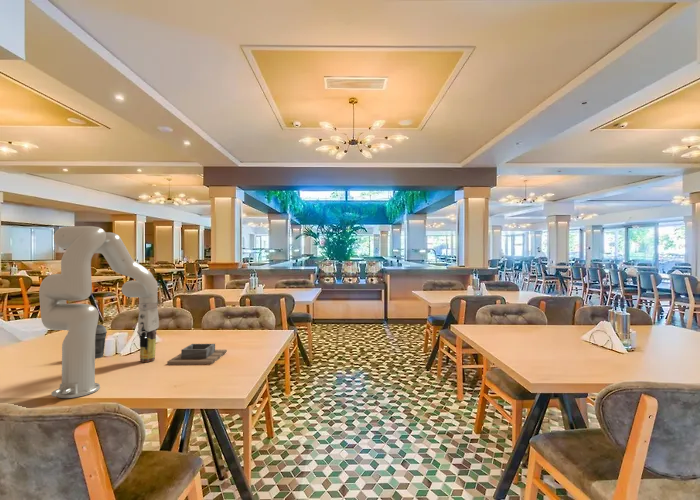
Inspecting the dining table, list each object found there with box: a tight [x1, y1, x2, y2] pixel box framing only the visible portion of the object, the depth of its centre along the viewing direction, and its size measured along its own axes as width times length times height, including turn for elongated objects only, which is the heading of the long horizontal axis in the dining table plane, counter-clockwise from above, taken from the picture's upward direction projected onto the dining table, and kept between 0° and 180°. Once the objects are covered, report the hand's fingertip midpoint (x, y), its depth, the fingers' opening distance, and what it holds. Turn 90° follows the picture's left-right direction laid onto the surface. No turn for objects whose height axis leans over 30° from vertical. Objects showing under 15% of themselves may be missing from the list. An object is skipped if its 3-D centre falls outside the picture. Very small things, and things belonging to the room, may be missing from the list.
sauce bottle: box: [139, 330, 157, 363], centre depth 167 cm, size 7×6×20 cm
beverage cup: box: [95, 324, 108, 359], centre depth 174 cm, size 7×7×20 cm
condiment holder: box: [166, 343, 228, 366], centre depth 171 cm, size 20×20×6 cm
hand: (147, 344), depth 167 cm, fingers closed on sauce bottle, 6 cm apart
